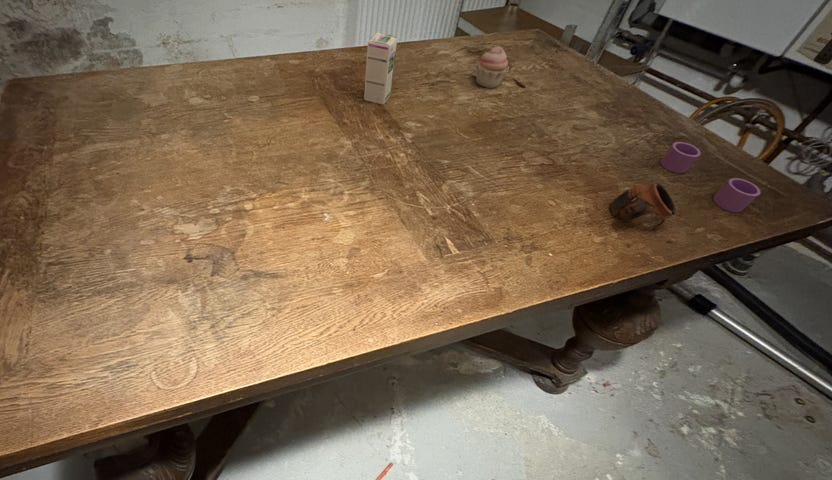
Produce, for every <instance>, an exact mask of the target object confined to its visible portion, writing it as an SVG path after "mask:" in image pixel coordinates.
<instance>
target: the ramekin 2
mask: <svg viewBox="0 0 832 480" xmlns="http://www.w3.org/2000/svg"><path fill="white" fill-rule="evenodd" d="M761 192H762V191H761V189H760V188H759V186H757V185H756V184H754V183H753V182H751V181H749V180H747V179H744V178H739V177H732V178H729V179H728V180H727V181H726V183H724V184H723V186H721V188H719V189H718V191H717V192H716V193H715V194H714V196H713V197H712V201H713V203H714V204H715V205H716V206H718V207H719V208H721V209H723V210H725V211H727V212H731V213H741V212H743V211H744V210H745V209H746V208H748V206H749V205H751V204H752V202H754V201H755V200H756V199H757V198H758V197H759V196H760V195H761Z"/></svg>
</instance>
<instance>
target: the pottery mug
mask: <svg viewBox="0 0 832 480" xmlns="http://www.w3.org/2000/svg"><path fill="white" fill-rule="evenodd" d="M651 207H652V208H651ZM650 210H651V211H652V212H653V213H655V215H656V216H658V217H659V218H660V219H661V222H660V223H658V224H657V225H655V226H653V229H654V230H657V229H659V228H660V227H661V226H663V225H665V223H666V222H667V221H668V220H669V217H672V216H673V215H676V212H677V211H676V206H675V203H674V201H673V199H672V197H671V195H670V193H669V192H668V191H667V189H666V188H665V187H664V186H663V185H662V184H661V183H659V182H657V181H655V182H653V183H651V184H637V185H634V186H632V187H631V188H628V189H626V190H625V191H623V192H622V193H620V194H619V195H618V196H617V197H616V198H615V199H614V200H612V201H611V203H610V212H611V214H612V216H613V217H616V216H617V215H618V214H619V217H620V219H621V220H622V221H624V222H626V223H630V222H632V221H633V220H635V219H637V218H639V217H641V216H645V215H646V214H647V213H648V212H649V211H650Z"/></svg>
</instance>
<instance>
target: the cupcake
mask: <svg viewBox="0 0 832 480" xmlns="http://www.w3.org/2000/svg"><path fill="white" fill-rule="evenodd" d="M507 57H508V56H507V53H506V51H505V50H504V49H503V48H502V47H501V46H500V45H498V46H494V47H493V48H492V49H490V51H487V52H485V53H483V54H482V55H481V58H480V60H476V64H475V69H476V77H475V80H476V83H477V85H479V86H480V87H483V88H486V89H494V88H497V87H498V86H499V85H500V83H501V82H502V80H503V78H504V76H506V75H507V73H509V72H510V71H509V69H510V66H509V60H508V59H507Z"/></svg>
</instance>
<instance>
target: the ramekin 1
mask: <svg viewBox="0 0 832 480" xmlns="http://www.w3.org/2000/svg"><path fill="white" fill-rule="evenodd" d="M701 155H702V152H701V150H700V149H699V148H698V147H697V146H695V145H693V144H691V143H688V142H684V141H675V142H673V143H672V144H671V145H670V146H669V148H668V150H667V151H666V152H665V154H663V157H662V158H661V159H660V161H659V163H660V166H662V168H664V169H666V170H667V171H669V172H672V173H675V174H685V173H687V172H688V171H689V170H690V168H691V167H692V166H693V164H694V163H695V162H696V161H697V160H698V158H699V157H701Z"/></svg>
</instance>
